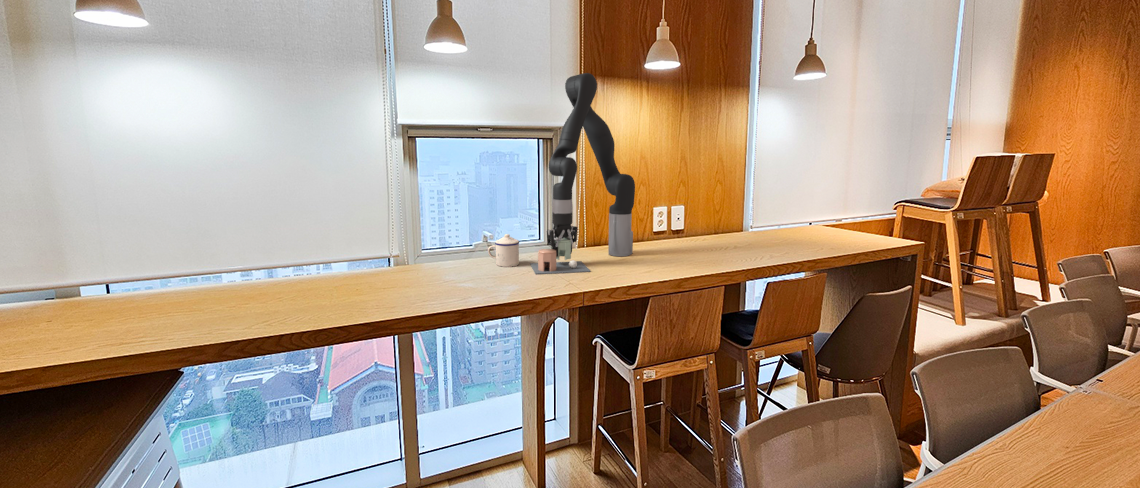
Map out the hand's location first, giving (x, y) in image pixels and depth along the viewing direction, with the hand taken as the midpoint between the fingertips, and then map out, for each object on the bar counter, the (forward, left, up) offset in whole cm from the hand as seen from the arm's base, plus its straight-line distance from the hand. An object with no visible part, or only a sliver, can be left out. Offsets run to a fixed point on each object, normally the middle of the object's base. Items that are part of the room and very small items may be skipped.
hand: (562, 254), depth 207 cm
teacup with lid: (+17, -14, -4) cm, 23 cm away
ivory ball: (+1, +8, -4) cm, 8 cm away
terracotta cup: (+9, +4, -4) cm, 10 cm away
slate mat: (+3, +3, -4) cm, 6 cm away
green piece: (0, 0, -1) cm, 1 cm away
